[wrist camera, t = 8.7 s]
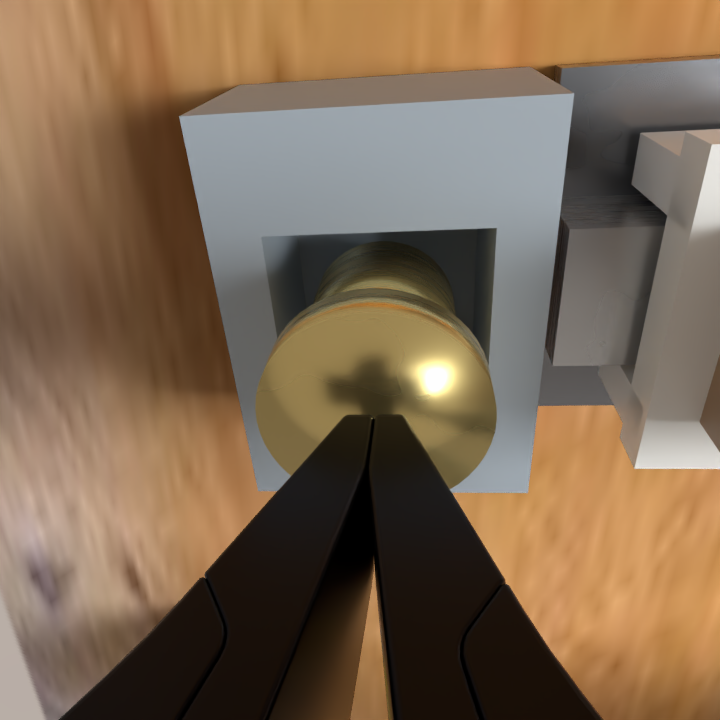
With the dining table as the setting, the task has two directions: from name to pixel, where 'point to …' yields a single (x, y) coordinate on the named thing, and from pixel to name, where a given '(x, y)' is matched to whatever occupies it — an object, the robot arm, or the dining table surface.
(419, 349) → the button
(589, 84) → the rail
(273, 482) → the grey notched block
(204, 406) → the dining table surface
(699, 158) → the carriage
